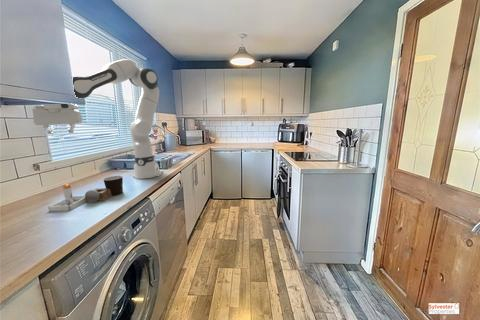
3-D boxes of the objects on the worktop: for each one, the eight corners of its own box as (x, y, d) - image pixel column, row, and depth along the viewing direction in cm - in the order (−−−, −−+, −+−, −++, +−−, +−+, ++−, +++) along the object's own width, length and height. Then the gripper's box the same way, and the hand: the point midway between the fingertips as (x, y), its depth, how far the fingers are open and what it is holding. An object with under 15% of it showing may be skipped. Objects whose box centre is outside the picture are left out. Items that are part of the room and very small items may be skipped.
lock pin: (70, 204, 98) (66, 183, 97) (75, 204, 98) (71, 183, 96) (64, 206, 96) (60, 185, 94) (70, 206, 95) (66, 185, 94)
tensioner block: (97, 197, 108) (95, 184, 107) (113, 197, 108) (111, 183, 107) (84, 205, 98) (81, 191, 97) (101, 204, 98) (99, 190, 97)
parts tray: (72, 201, 103) (71, 196, 103) (90, 201, 104) (89, 195, 103) (49, 213, 91) (47, 206, 90) (70, 212, 91) (69, 205, 90)
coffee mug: (119, 199, 106) (116, 180, 104) (102, 199, 106) (99, 180, 104) (131, 191, 117) (129, 173, 116) (116, 191, 118) (113, 174, 116)
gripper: (26, 105, 100) (33, 134, 103) (74, 104, 103) (79, 132, 106) (36, 106, 106) (42, 134, 109) (81, 105, 109) (86, 132, 112)
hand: (61, 133), depth 107 cm, fingers open, 8 cm apart
